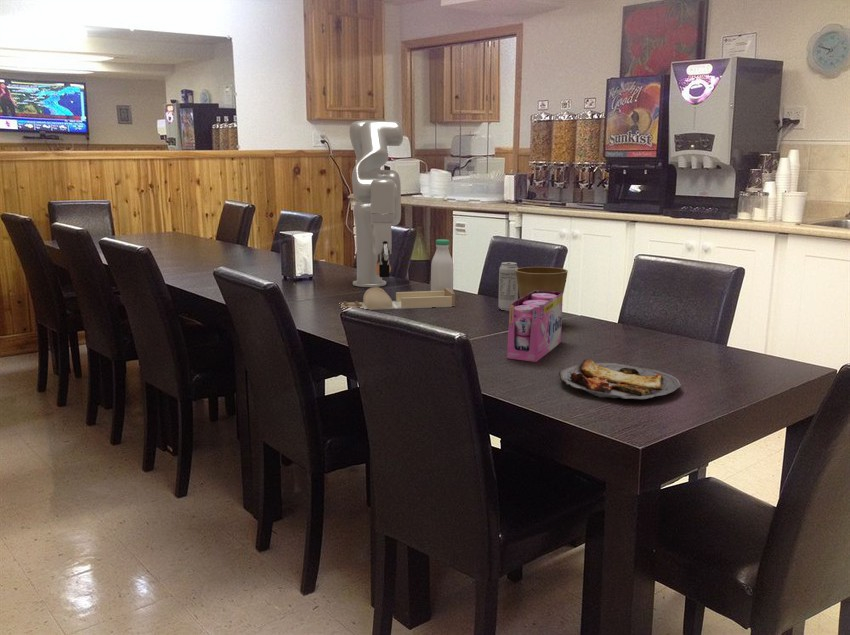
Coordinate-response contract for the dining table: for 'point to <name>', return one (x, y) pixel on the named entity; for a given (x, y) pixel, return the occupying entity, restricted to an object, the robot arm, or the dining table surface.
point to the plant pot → (540, 279)
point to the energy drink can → (507, 285)
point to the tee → (351, 304)
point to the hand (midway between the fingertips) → (383, 275)
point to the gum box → (534, 325)
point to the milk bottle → (442, 267)
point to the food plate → (618, 380)
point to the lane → (406, 299)
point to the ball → (378, 268)
